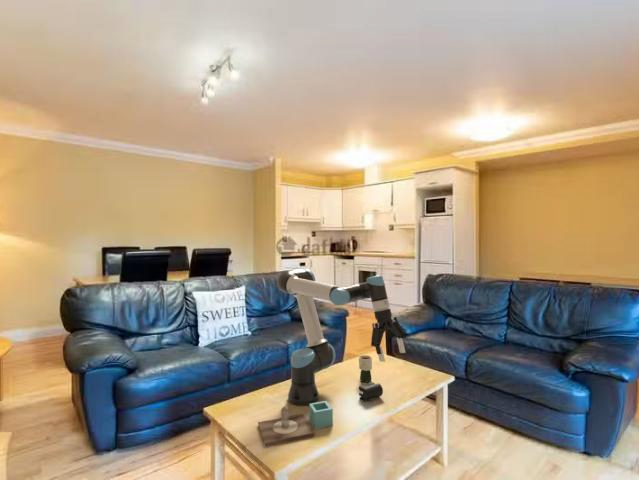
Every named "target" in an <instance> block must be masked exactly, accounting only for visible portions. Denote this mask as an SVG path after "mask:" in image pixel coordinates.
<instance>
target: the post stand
mask: <svg viewBox="0 0 639 480" xmlns="http://www.w3.org/2000/svg"><path fill="white" fill-rule="evenodd" d="M280 413H281V414H280V415H281V417H279V418H278V417H277V418H273V419H269V420H268V419H267V420H262V421H258V422H257V423H258V424H257V425H259V426H258V429H259V432H261V433H260V435H262V436H261V438H262V442H264V443H263V445H265V446H266V447H270V446H274V445H279V444H283V443H289V442H294V441H299V440H303V439H307V438H312V437H315V431H314V430H313V428H312V427H311V425H310V423H309V421H308V419H307V418H306V416H305V415H304V413H300V414H295V415H289V414H290V411H289V407H287V406H283V407H281V412H280ZM265 446H264V447H265Z"/></svg>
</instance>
